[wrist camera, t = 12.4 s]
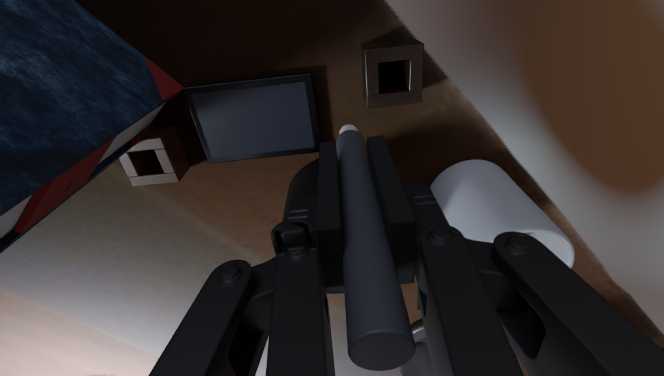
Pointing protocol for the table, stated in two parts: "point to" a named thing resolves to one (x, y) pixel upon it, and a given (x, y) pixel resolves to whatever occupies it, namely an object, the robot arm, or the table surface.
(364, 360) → the stylus
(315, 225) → the robot arm
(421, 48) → the holder
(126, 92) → the book
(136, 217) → the table surface
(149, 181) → the pen stand
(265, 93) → the tablet
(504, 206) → the mug
